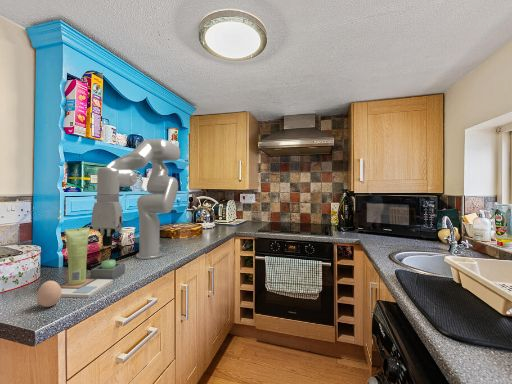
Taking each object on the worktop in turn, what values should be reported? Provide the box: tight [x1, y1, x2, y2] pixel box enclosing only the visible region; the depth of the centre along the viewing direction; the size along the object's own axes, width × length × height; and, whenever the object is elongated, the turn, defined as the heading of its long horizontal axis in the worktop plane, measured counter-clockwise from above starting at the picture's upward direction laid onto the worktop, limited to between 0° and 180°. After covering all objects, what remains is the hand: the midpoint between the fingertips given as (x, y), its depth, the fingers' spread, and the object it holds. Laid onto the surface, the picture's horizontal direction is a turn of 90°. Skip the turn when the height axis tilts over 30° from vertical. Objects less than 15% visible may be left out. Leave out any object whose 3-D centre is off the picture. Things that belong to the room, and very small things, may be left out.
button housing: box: [90, 262, 126, 281], centre depth 99 cm, size 8×8×4 cm
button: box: [101, 259, 117, 269], centre depth 99 cm, size 5×5×4 cm
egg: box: [36, 280, 62, 308], centre depth 75 cm, size 6×6×8 cm
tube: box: [64, 227, 90, 285], centre depth 89 cm, size 6×5×20 cm
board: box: [59, 277, 114, 299], centre depth 87 cm, size 13×14×1 cm
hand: (107, 245), depth 98 cm, fingers closed
